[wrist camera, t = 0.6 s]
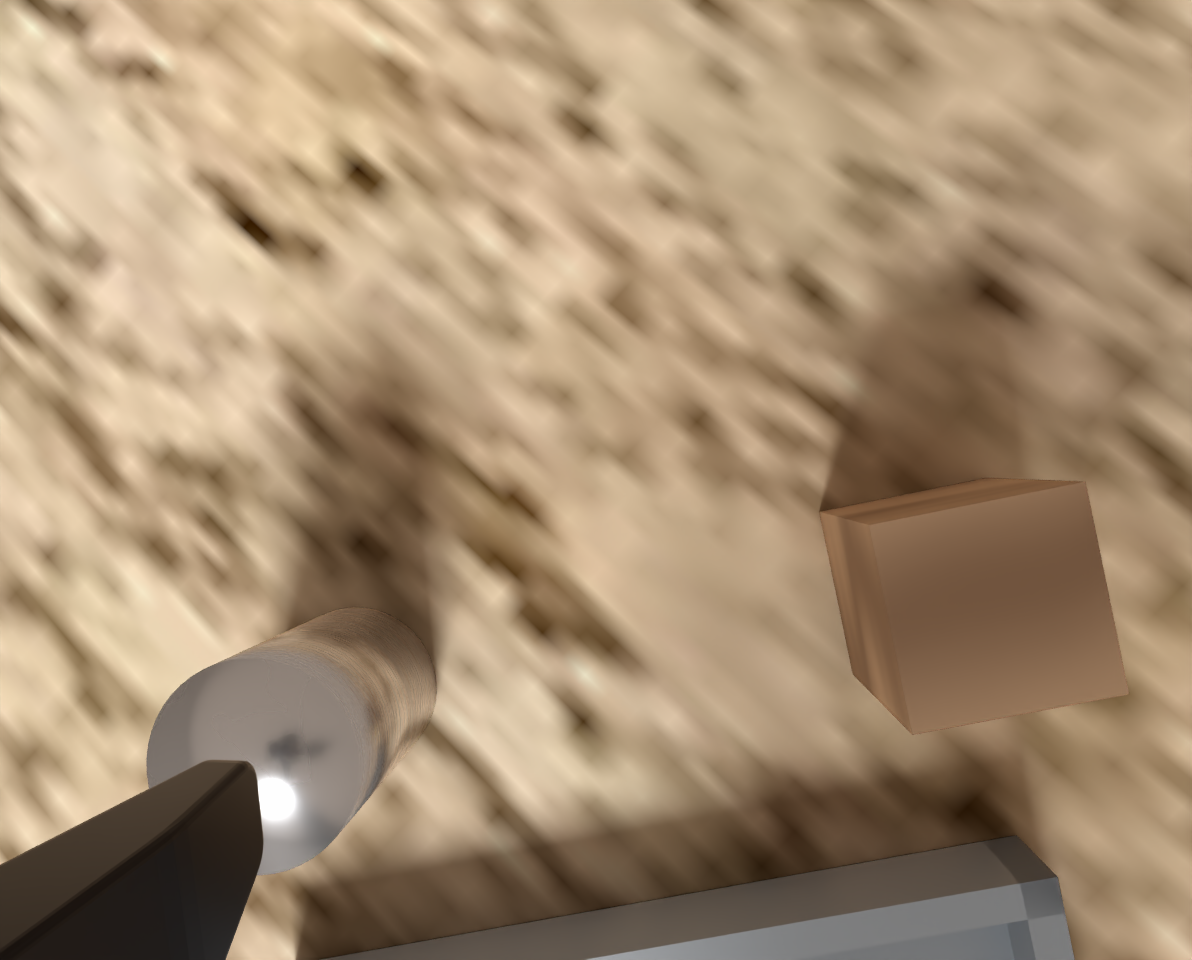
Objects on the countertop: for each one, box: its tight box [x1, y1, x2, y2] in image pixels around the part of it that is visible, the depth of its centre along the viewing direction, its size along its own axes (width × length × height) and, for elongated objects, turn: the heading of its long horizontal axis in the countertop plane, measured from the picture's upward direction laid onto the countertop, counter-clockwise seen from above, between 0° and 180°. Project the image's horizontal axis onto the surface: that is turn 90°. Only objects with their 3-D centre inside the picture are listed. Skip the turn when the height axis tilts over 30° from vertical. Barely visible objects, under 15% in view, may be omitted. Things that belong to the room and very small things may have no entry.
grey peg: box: [147, 607, 436, 875], centre depth 20 cm, size 4×4×6 cm
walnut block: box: [819, 478, 1129, 735], centre depth 19 cm, size 4×4×5 cm
